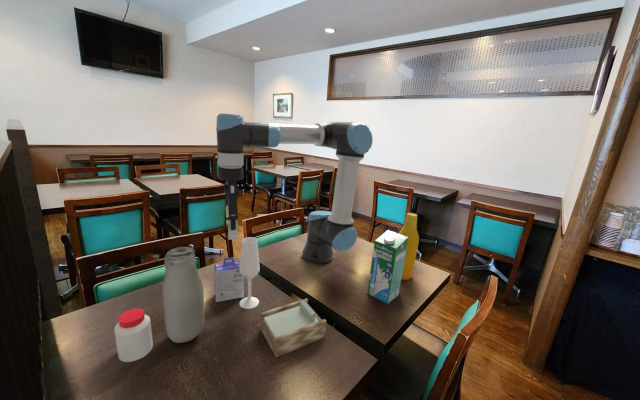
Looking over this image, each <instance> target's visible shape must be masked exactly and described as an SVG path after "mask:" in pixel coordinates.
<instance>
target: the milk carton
mask: <svg viewBox="0 0 640 400" xmlns="http://www.w3.org/2000/svg"><path fill="white" fill-rule="evenodd" d="M398 233H399V232H398ZM398 233H397V232H395V231H391V230H389V229H386V230H385V231H384V232H383V233H382V234H381V235H380V236H379V237H377V238H376V239H375V240H374V245H373V249H372V257H371V265H370V272H369V278H368V287H367V295H369V296H372V297H373V298H375V299H377V300H379V301H381V302H382V303H384V304H385V305H389V304H390V303H391V302H392V301H394V299H396V298H397V297H398V296H399V293H400V288H401V283H402V282H401V281H402V279H401V278H402V272H403V267H404V261H405V255H406V250H407V244H408V239H409V237H407V236H404V235H401V234H398Z"/></svg>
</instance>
